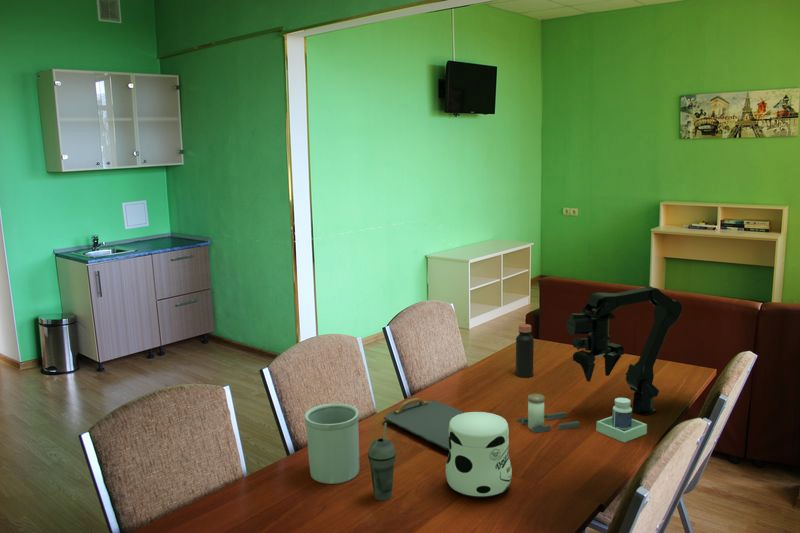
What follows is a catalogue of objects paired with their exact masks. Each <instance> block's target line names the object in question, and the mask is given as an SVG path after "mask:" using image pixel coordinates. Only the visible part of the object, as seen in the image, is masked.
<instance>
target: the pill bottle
mask: <svg viewBox="0 0 800 533" xmlns="http://www.w3.org/2000/svg"><path fill="white" fill-rule="evenodd" d="M614 404H615V405H613V407H612V415H611V416H612V427H615V428H617V429H620V430H622V431H627V430H629V429H631V427H632V419H633V411H632V408H631V407H632V406H631V404H632V402H631V399H629V398H626V397H617V398H616V397H615V399H614Z"/></svg>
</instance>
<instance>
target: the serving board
mask: <svg viewBox="0 0 800 533" xmlns="http://www.w3.org/2000/svg"><path fill="white" fill-rule="evenodd" d="M463 413H465V412H464V411H461V410H460V409H457V408H455V407H452V406H449V405H447V404H445V403H442V402H441V401H438V400H425V401H424V399H421V398H419V397H415V398H410V399H407V400H405V401H403V402H401V404H399V406H398V407H397V408H395V409H394V410H392V411H390V412H388V413H387V414H385V415H384V417H383V419H384V420H385V421H386V423H387V425H392V424H393V425H395V426H397V427H399V428H400V429H403V430H405V431H407V432H409V433H410V434H413V435H415V436H417V437H419V438H422V439H423V440H425V441H426V442H428V443H432V444H434V445H436V446H438V447H440V448H442V449H444V450H446V451H448V452H449V423H450V421H451V419H452V418H453V417H455V416H456V415H459V414H463Z"/></svg>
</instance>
